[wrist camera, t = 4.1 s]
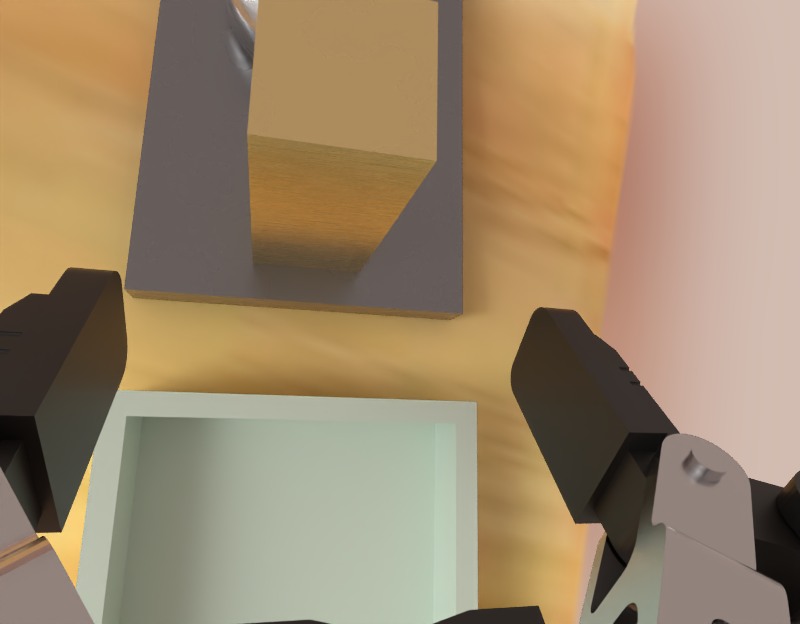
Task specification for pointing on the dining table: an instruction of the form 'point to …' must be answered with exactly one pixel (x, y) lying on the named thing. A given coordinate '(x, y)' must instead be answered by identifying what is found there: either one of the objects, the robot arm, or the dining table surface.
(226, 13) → the crank base
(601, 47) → the dining table surface
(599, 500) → the robot arm
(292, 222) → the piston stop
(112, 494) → the tray
